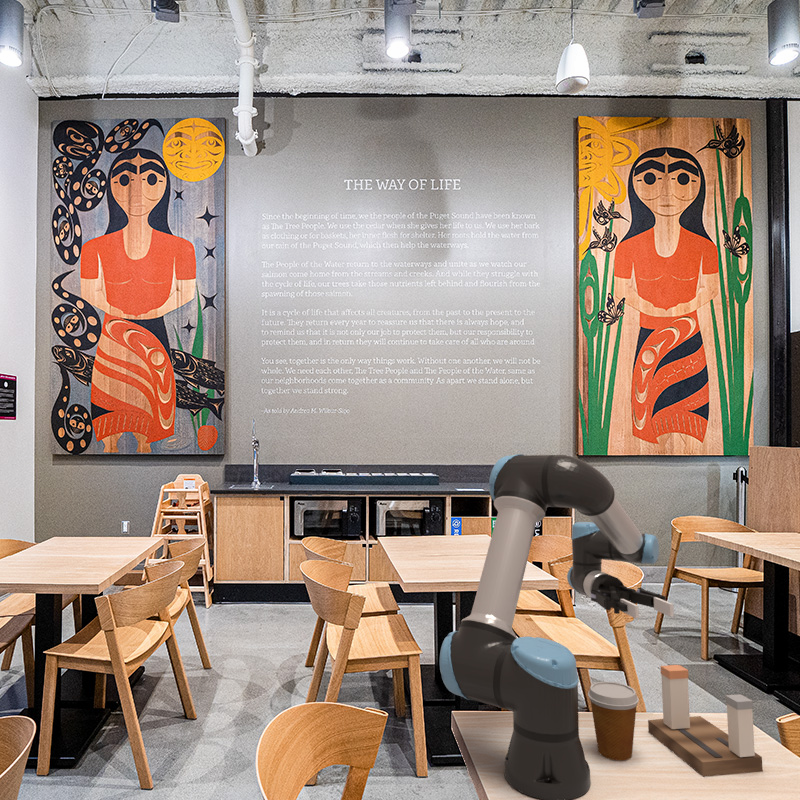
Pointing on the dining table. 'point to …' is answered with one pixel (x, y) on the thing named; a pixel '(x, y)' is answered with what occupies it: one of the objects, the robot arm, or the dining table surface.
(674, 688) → the orange topped beige block
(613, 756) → the disposable coffee cup
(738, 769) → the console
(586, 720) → the dining table surface
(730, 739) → the grey topped white block
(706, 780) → the dining table surface
